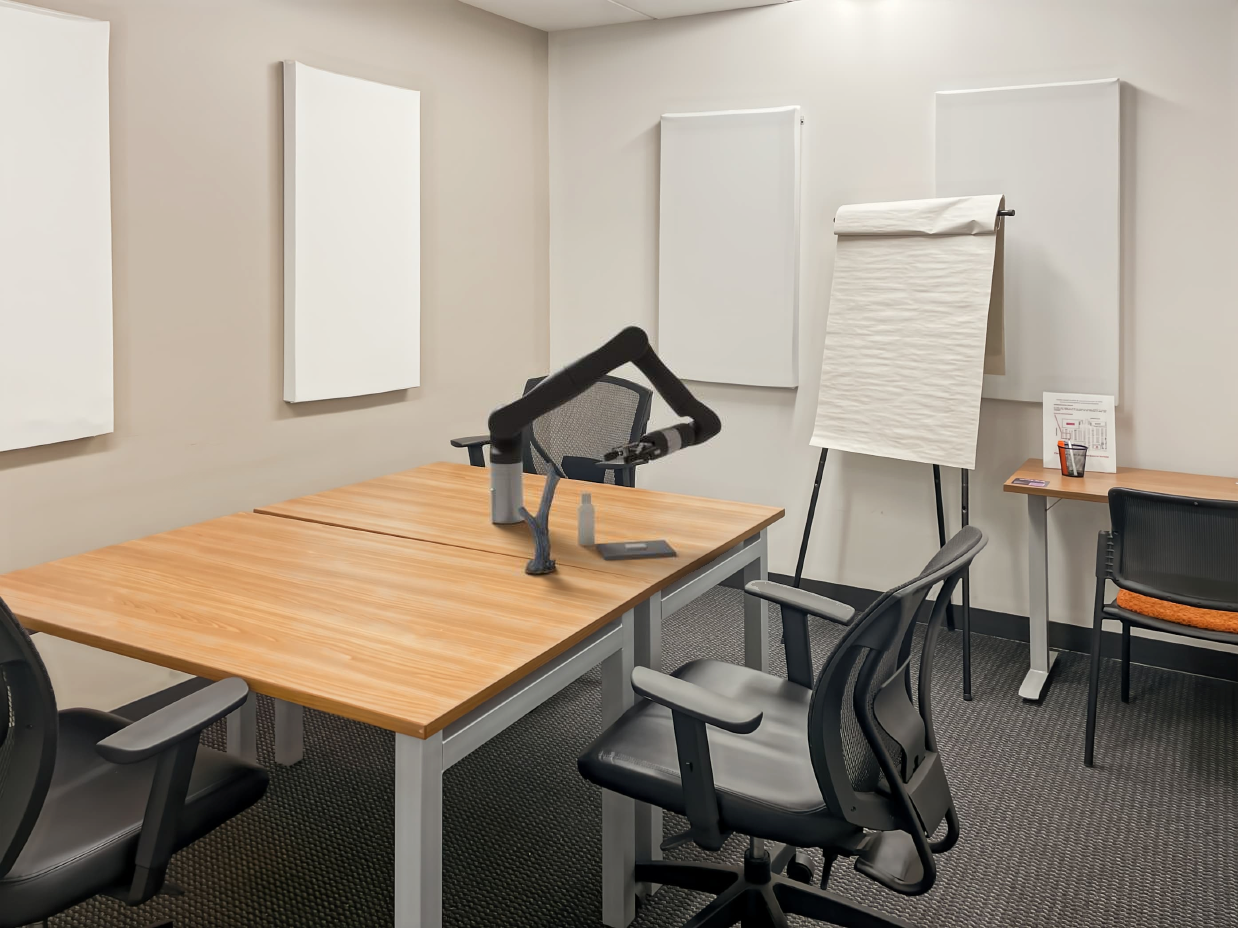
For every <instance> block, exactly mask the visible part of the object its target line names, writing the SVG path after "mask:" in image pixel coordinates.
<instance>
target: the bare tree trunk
mask: <svg viewBox="0 0 1238 928" xmlns="http://www.w3.org/2000/svg"><path fill="white" fill-rule="evenodd" d="M546 467H547V468H546V479H545V482H544V483H545V484H544V489H543V491H542V495H541V498H540V502H539V507H538V510H537V512H536V514H535V516H533V515H532V514H531V513H530V512H529V511H528V510H527V509H526V507H524V505H523V506H521V507H520V508H518V512H519V514H520V515H521V516H522V517H523V520H525V521H526V522H527V526H528V528H529V530H530V532H531V533H532V537H533V541H534V558H533V559H530V560H529V561H528V562H527V563H526V566H525V569H524V571H525V572H526V573H529V574H541V573H544V574H546V573H551V572H552V571H553V572H554V571H555V570H556V569H557V567H556V558H553V559H550V558H551V547H552V546H551V543H550V538H549V531H550V530H549V515H550V511H551V507H552V502H553V500H554V495H555V492H556V488H557V485H558V483H559V482H560V480H561V476H559V475H557V473H556V470H555V467H554V465H553V463H552V462H548V463H547V466H546Z"/></svg>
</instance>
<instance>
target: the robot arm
mask: <svg viewBox="0 0 1238 928" xmlns="http://www.w3.org/2000/svg"><path fill="white" fill-rule="evenodd" d="M629 362H630V363H631V364H632V365H634V366H635V367H636V368H637V369H638V370H639V371H640V372H641V373H642V374H643V375H644V376H645V377H646V378H647V379H648V381H649V383H651V385H652V387H654V389H655V390H656V392H657V393H658V394H659V395H660V396H661V398H662V399H663V400H664V402H665V403H666V404H667V405H668V406H669V408H671V410H672V412H674V413H675V414H676V415H677V416H678V417H680V418H684V417H686V418H687V417H689V418H690V419H691V421H689V422H687V423H686V422H680V423H677V424H673V425H671V426H667V427H662V428H660V429H659V428H658V429H655V430H654V431H653V430H652V431H650V432H647V433H645V434H643V435H642V436H641V437H640V439H639V442H633V443H631V442H627V443H624V444H620V445H617V446H613V447H611V451H607V452H605V453H604V454H603V460H604V462H607V463H608V462H610V461H614V460H617V459H621V458H622V459H623V464H624V465H630V464H633V463H635V462H639V463H640V462H641V461H643V462H648V461H649V462H650V461H656V460H658V459H661V458H664V457H667V456H670V455H672V454H674V453H676V452H678V451H681V450H684V449H686V448H688V447H694V446H698V445H702V444H704V443H706V442H708V441H709V440H710V439H712V438H714V437H715V436H717V435H718V434H720V432H721V430H722V421H721V419H720V417H719V416H718V415H717V413H716V412H715V411H714V410H712V409H711V408H710V407H709V406H707V405H706V404H704V403H703V402H702V401H700V400H699V399H696V397H695V395H693V394H692V392H691V391H690V390H689V389H688V388H687V386H685V384H684V383H683V382H682V381H681V380H680V378H678V377H677V375H675V374H674V373H673V372H672V371H671V370H670V369H669V368H668V367H667V366H666V364H665V363H664V362H663V361H662V360H661V358H659V356H658V355H657V353H656V352H655V350H654V349H653V347H652V345H651V343H650V342H649V336H648V334H647V333H646V331H645V330H644V329H643V328H641V327H638V326H635V325H628V326H625V327H624V328H622V329H621V330H620V331H618V333H616V334H615V335H614V336H613V337H611V338H610V339H609V340H608V341H606V342H605V343H603V344H602V345H601V346H600V347H599V346H598V348H596V349H594V350H592V351H590V352H589V353H587V354H585V355H582V356H580V357H577V358H576V359H573V360H572V361H570V362H568V363H567V364H565V365H563V366H561V367H560V368H559V369H556V370H555V371H554V372H552V373H551V374H550V375H547V377H545V378H544V379H543V380H542V381H540V382H539V383H538V384H537V385H536V386H535V387H533V388H532V389H531V390H530V391H528V392H527V393H525V395H523V396H522V397H519V398H518V399H516V400H514V401H512V402H510V403H508V404H507V403H505V404H504V403H503V404H499V405H497V406H496V407H495V408H493V410H492V411H491V413H490V415H489V417H488V419H487V427H488V431H489V478H490V479H489V480H490V481H489V482H490V486H489V504H490V507H489V508H490V521H491V523H492V524H506V525H507V524H516V523H521V522H523V521H524V518H523V517H522V516H521V515H520V514H519V512H518V508H520V507H521V506H523V507H524V480H523V476H524V473H523V471H524V469H523V430H524V429H525V428H526V427H528V426H529V425H530V424H532V423H533V422H534V421H536V420H537V419H539V418H540V417H542V416H544V415H545V414H548V413H551V411H554V410H556V409H557V408H560V407H562V406H564V405H565V404H567V403H568V402H571V401H572V400H574V399H575V398H578V397H579V396H580V395H582V394H583V393H585V392H586V391H588V390H589V389H591V387H594V386H595V385H596V384H597V383H598V382H600V381H601V380H602V379H603V378H604V377H605V376H607V375H608V374H609V373H611V372H612V371H615V370H616V369H618V368H619V367H620V368H621V366H623V365H626V364H628V363H629Z"/></svg>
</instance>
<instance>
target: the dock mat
mask: <svg viewBox="0 0 1238 928" xmlns="http://www.w3.org/2000/svg"><path fill="white" fill-rule="evenodd" d="M596 549H597V550H598V551H599V553H600V554H601V557H602V558H603V559H604V560H605V561H612V560H627V559H628V560H631V559H644V558H646V559H649V558H650V559H651V558H663V557H664V558H665V557H676V556H677V552H676V550H675V549H674V548H673V547H672V546H671V545H670V544H669V543H668V542H667V541H666V540H665V539H657V540H656V539H655V540H639V541H638V540H637V541H621V542H605V543H604V542H603V543H602V542H601V543H596Z"/></svg>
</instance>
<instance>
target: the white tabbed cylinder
mask: <svg viewBox="0 0 1238 928" xmlns="http://www.w3.org/2000/svg"><path fill="white" fill-rule="evenodd" d="M580 497H581V498H580V504H579V505H578V508H577V545H578V546H582V547H591V546H594V545H595V544H596V536H595V535H596V534H595V533H596V532H595V531H596V529H595V527H596V521H595V518H596V517H595V516H596V514H595V513H596V511H595V506H594V504H593V503H592V494H591V492H583V493H582V492H581V493H580Z"/></svg>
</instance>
